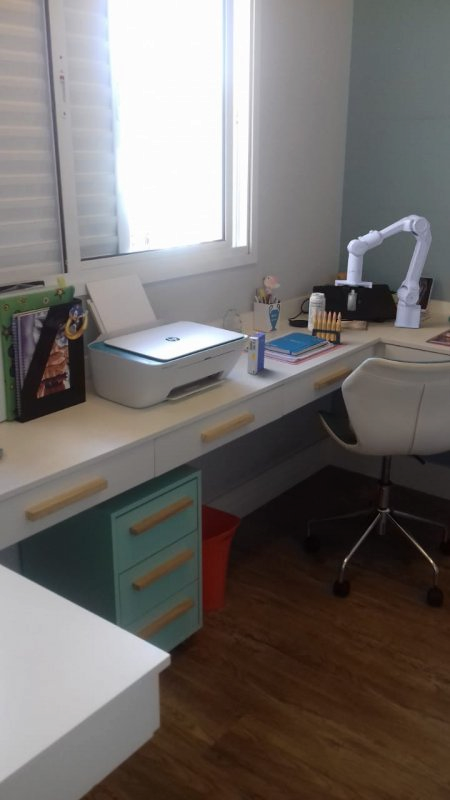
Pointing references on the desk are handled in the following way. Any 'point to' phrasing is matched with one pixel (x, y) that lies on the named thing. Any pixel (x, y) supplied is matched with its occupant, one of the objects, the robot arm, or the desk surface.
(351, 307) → the connector
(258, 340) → the purple white carton box
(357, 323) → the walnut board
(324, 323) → the ammunition clip
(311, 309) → the energy drink can
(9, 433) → the desk surface
